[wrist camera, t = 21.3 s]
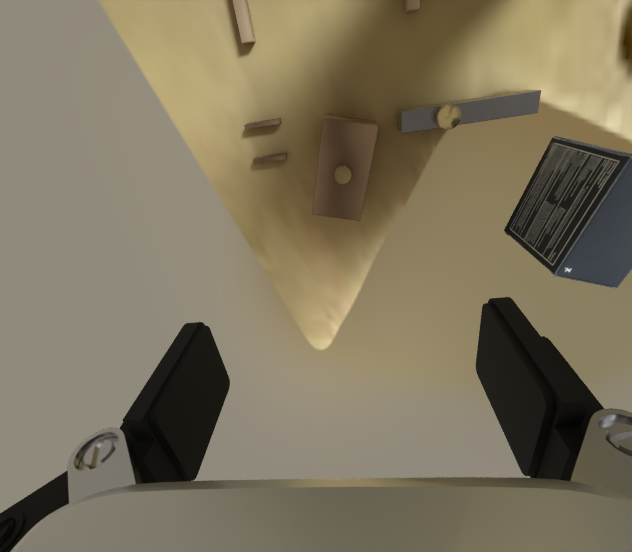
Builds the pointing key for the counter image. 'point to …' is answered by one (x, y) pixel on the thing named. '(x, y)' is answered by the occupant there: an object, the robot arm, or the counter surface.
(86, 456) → the robot arm
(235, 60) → the counter surface
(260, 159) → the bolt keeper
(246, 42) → the bolt guide rails
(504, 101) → the bar
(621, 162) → the small box
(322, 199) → the cap block
